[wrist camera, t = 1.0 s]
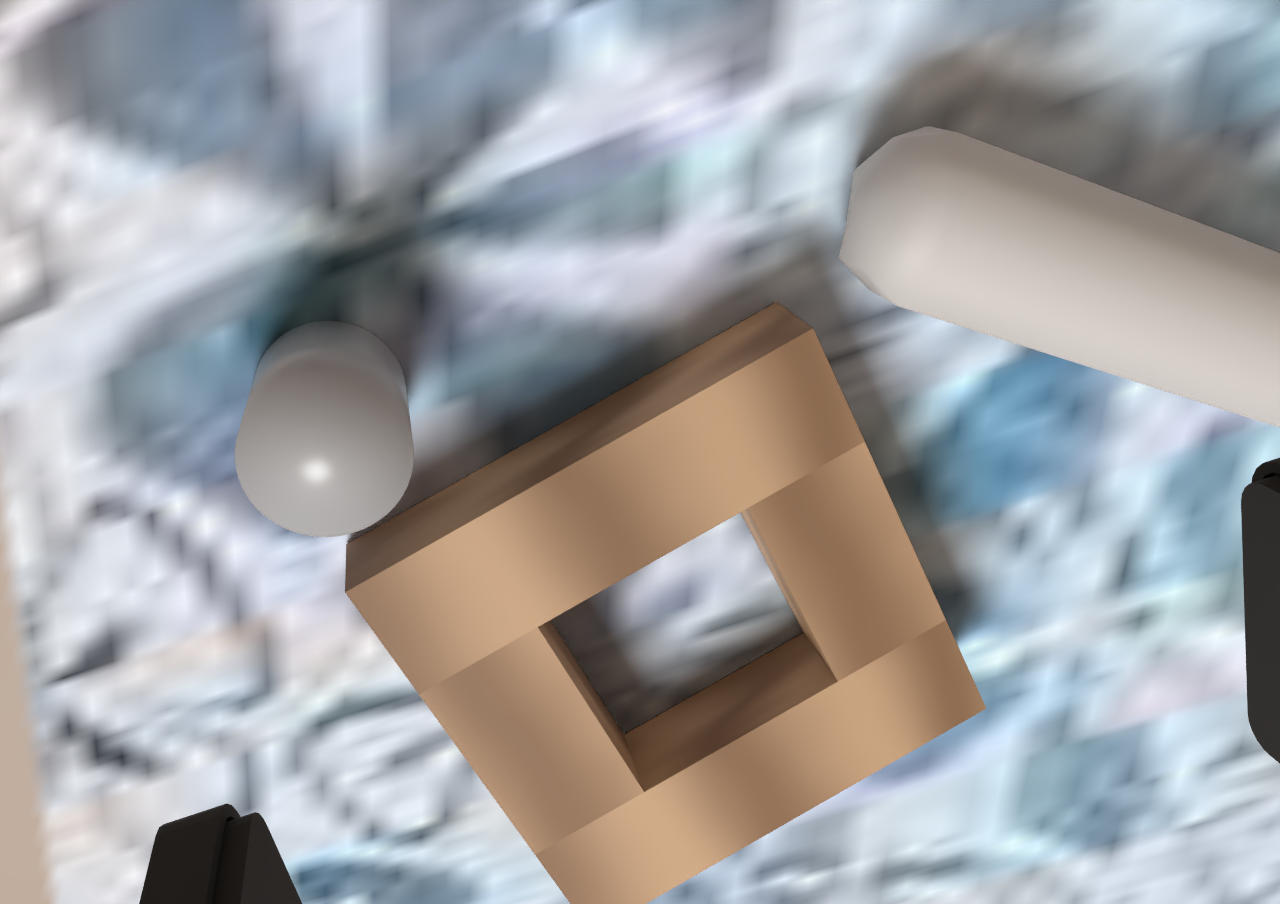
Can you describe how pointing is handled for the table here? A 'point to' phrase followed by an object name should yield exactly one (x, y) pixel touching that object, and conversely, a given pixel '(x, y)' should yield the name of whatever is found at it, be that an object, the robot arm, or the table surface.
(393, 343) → the table surface
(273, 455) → the short grey peg
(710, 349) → the holder
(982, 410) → the table surface
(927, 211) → the tube
